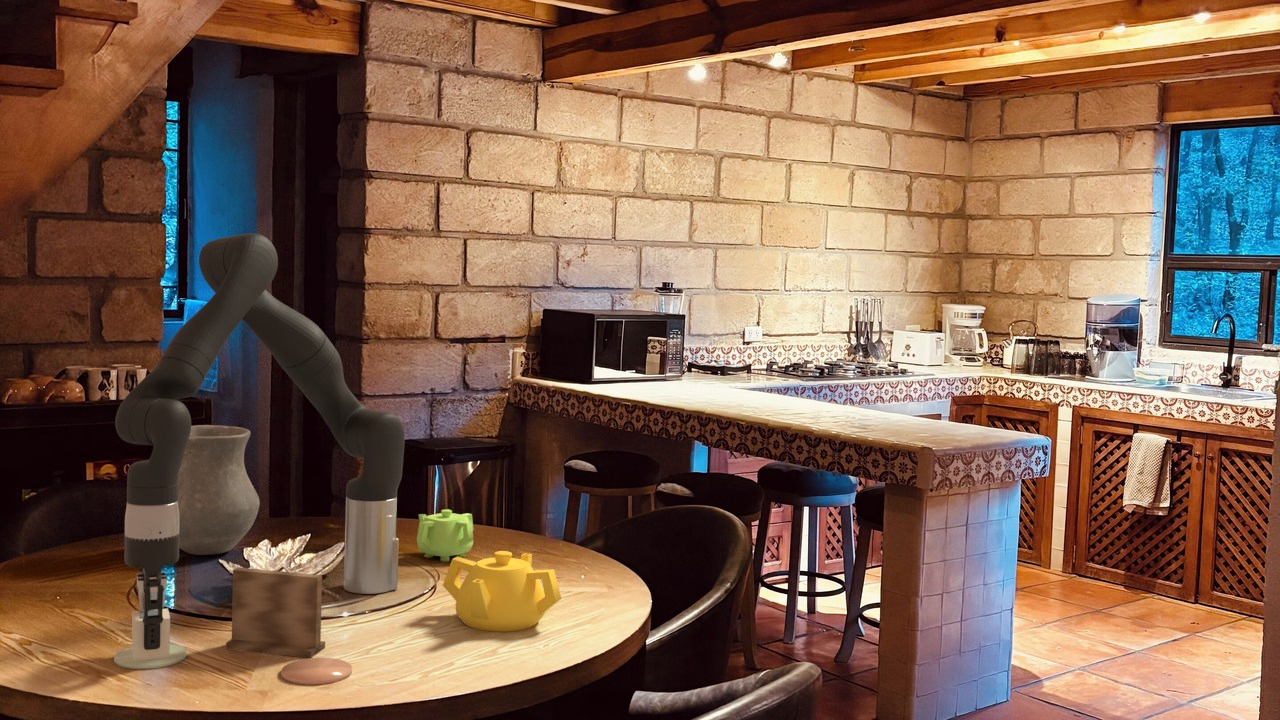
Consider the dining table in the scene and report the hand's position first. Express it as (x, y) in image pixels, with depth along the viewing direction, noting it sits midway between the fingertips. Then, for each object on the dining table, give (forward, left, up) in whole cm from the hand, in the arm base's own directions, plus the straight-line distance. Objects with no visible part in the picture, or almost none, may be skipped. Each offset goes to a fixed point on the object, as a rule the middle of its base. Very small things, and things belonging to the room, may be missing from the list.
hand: (150, 642), depth 176 cm
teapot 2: (-56, -3, -3) cm, 56 cm away
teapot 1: (-59, -49, -3) cm, 77 cm away
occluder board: (-18, +1, -2) cm, 18 cm away
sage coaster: (0, 0, -2) cm, 2 cm away
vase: (-14, -65, -3) cm, 67 cm away
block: (0, 0, -2) cm, 2 cm away
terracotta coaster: (-22, +14, -2) cm, 26 cm away
